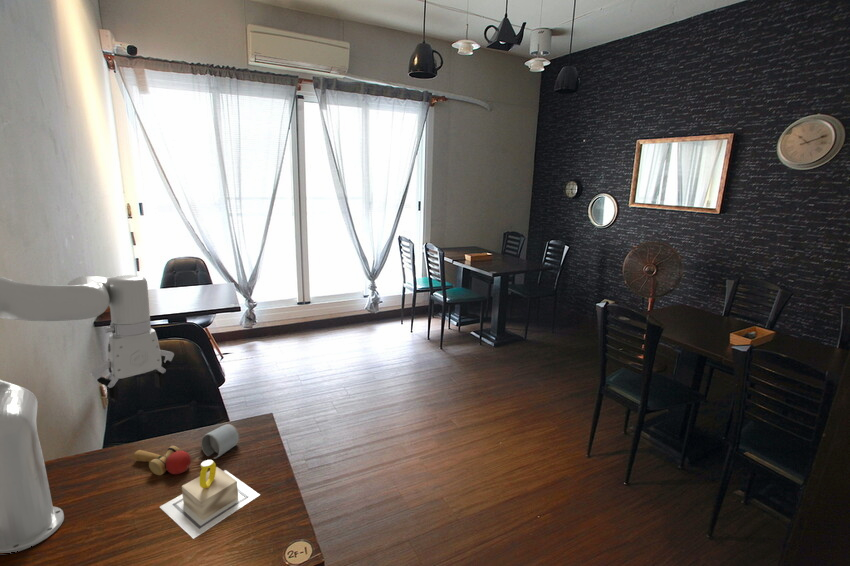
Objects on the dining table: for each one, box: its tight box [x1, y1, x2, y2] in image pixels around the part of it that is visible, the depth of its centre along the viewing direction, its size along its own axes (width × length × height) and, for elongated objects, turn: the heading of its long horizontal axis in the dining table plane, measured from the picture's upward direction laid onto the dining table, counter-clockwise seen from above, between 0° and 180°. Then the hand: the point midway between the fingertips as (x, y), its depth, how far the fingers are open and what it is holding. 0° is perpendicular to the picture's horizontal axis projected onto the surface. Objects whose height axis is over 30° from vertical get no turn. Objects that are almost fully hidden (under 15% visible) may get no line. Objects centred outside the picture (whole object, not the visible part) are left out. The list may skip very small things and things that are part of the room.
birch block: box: [181, 466, 238, 520], centre depth 103 cm, size 9×9×5 cm
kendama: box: [133, 445, 192, 476], centre depth 115 cm, size 8×6×18 cm
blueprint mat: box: [159, 469, 261, 540], centre depth 104 cm, size 17×16×1 cm
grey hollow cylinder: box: [200, 423, 240, 459], centre depth 123 cm, size 11×8×8 cm
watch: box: [199, 459, 217, 488], centre depth 102 cm, size 6×3×6 cm, turn 4°
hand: (137, 393), depth 102 cm, fingers open, 9 cm apart
